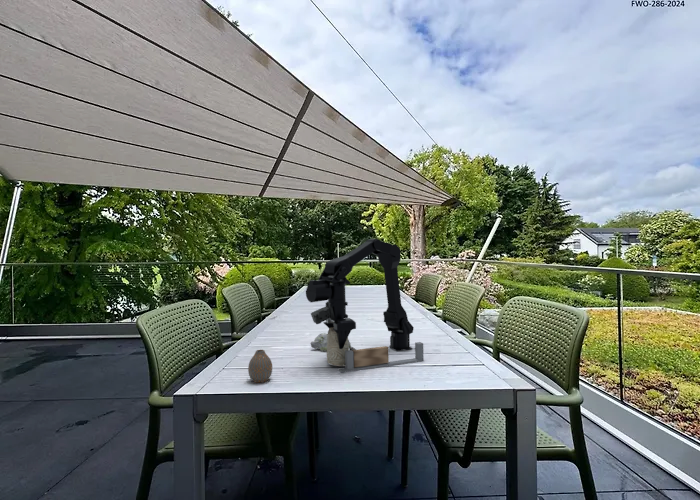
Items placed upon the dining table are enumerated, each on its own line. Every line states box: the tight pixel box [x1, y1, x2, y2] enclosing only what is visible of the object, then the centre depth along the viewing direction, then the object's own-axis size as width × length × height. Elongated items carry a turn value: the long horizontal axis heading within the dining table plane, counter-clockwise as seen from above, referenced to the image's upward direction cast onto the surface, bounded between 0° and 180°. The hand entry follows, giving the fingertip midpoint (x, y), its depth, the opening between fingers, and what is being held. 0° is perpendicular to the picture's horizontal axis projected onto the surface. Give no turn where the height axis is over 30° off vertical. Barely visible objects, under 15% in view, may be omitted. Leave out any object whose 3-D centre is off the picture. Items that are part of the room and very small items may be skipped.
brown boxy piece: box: [349, 345, 390, 367], centre depth 122 cm, size 12×7×5 cm, turn 111°
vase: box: [247, 349, 273, 384], centre depth 109 cm, size 7×7×9 cm
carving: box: [326, 327, 349, 367], centre depth 122 cm, size 6×8×12 cm
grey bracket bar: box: [338, 341, 425, 374], centre depth 121 cm, size 30×2×6 cm, turn 111°
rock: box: [310, 332, 352, 352], centre depth 140 cm, size 16×7×7 cm, turn 65°
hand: (337, 346), depth 122 cm, fingers closed on carving, 6 cm apart
